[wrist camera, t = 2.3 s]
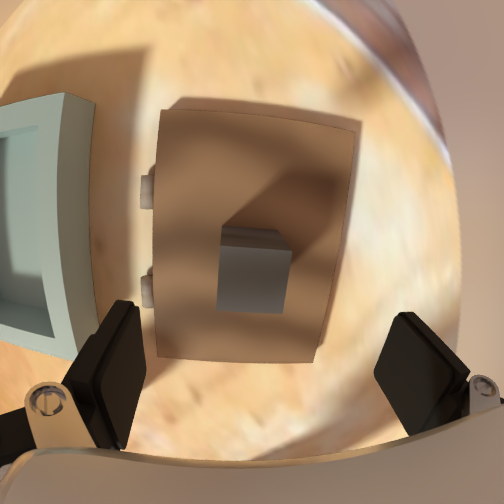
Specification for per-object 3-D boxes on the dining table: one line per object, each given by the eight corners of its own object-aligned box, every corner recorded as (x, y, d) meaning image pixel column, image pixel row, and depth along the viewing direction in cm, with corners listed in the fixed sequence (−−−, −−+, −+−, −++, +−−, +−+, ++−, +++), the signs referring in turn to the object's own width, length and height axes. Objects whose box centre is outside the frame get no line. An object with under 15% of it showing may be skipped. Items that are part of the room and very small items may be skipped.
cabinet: (100, 330, 24) (80, 362, 19) (-6, 307, 22) (-30, 328, 17) (95, 103, 18) (64, 91, 13) (-21, 125, 16) (-53, 125, 11)
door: (308, 353, 26) (327, 400, 20) (148, 345, 25) (131, 393, 19) (347, 133, 21) (389, 126, 14) (149, 113, 19) (120, 95, 13)
